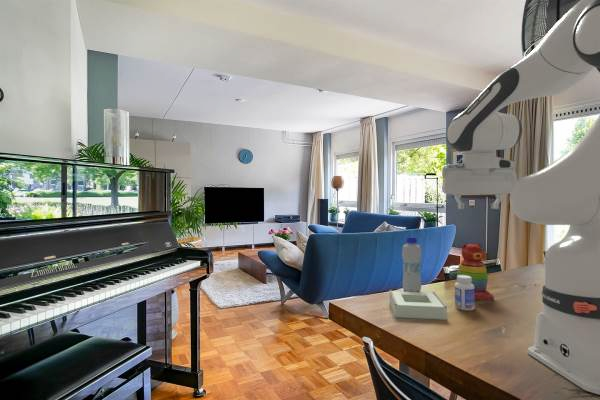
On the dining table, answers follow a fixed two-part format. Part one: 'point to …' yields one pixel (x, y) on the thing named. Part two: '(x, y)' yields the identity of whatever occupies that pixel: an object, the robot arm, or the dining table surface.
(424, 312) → the holed board
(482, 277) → the stacking bear
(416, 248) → the bottle
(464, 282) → the pill bottle
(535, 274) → the dining table surface
